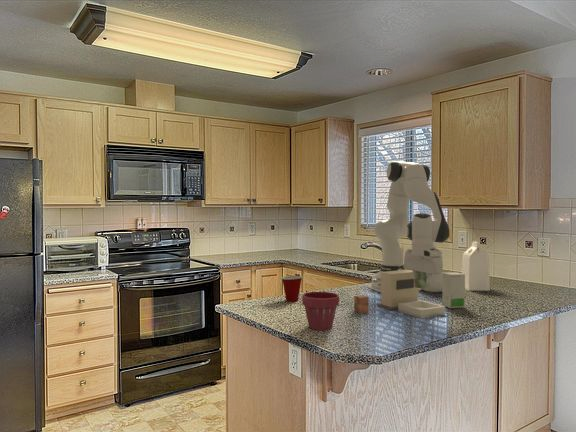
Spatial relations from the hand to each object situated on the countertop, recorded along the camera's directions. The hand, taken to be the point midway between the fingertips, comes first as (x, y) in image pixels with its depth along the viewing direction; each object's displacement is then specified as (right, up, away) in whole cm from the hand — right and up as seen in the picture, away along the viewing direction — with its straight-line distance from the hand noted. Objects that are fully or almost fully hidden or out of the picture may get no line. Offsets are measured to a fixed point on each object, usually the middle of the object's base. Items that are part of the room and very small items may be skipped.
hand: (422, 282), depth 202 cm
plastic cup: (-57, -13, +26) cm, 64 cm away
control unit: (-7, -13, +13) cm, 20 cm away
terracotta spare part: (-26, -14, +2) cm, 30 cm away
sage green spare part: (0, -2, 0) cm, 2 cm away
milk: (+46, -12, +56) cm, 73 cm away
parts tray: (0, -14, +1) cm, 14 cm away
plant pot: (-46, -15, -22) cm, 53 cm away
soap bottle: (+19, -12, +49) cm, 54 cm away
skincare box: (+18, -13, +13) cm, 26 cm away
